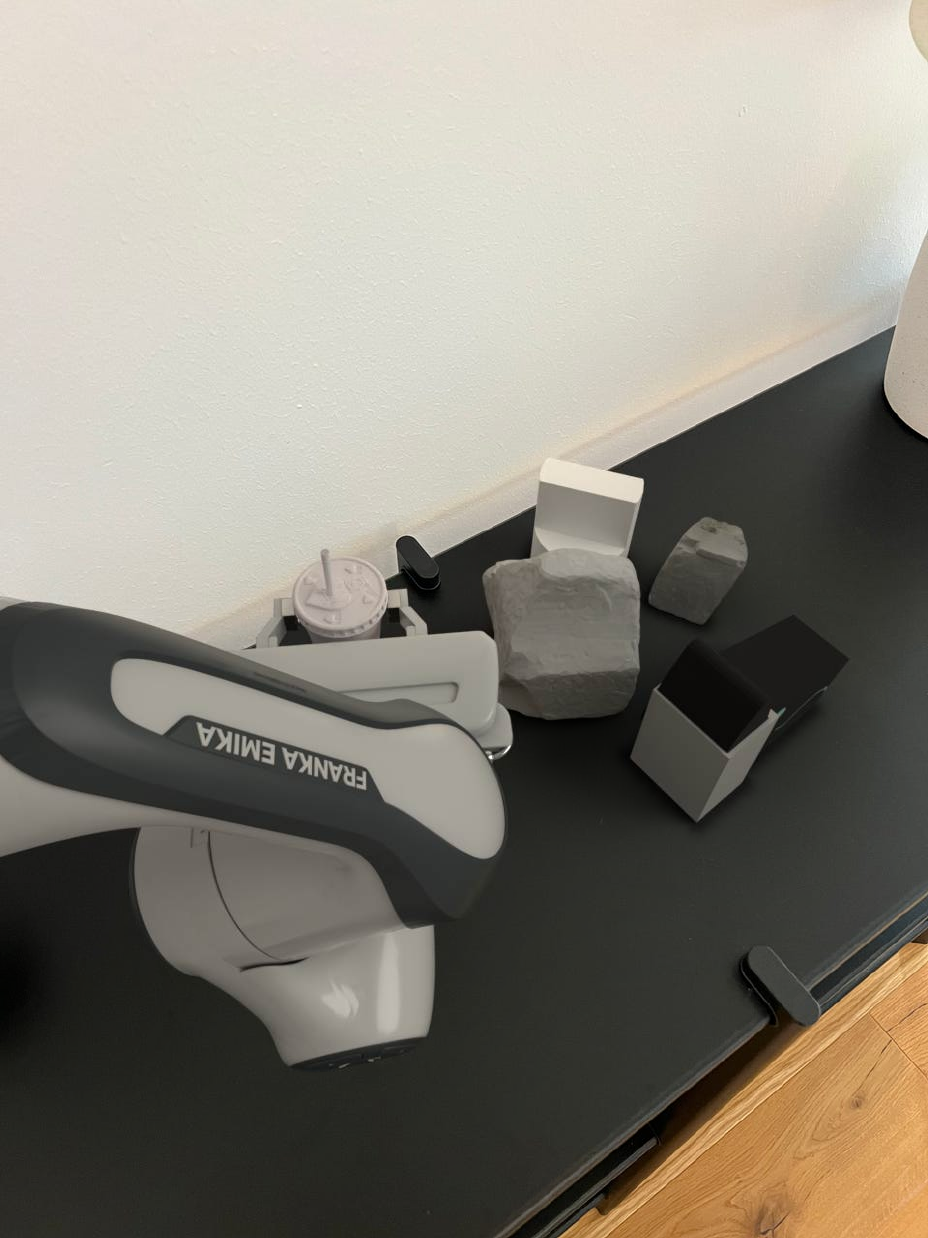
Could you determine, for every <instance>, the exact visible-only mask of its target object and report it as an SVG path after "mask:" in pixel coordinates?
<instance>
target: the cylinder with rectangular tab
mask: <svg viewBox="0 0 928 1238" xmlns="http://www.w3.org/2000/svg"><path fill="white" fill-rule="evenodd" d="M644 484H645V482H644V478H641V477H636V476H631V475H627V474H624V473H619V472H614V471H610V470H605V469H601V468H597V467H593V466H588V465H584V464H579V463H575V462H571V461H566V460H562V459H557V458H553V457H548V458H546V459H545V460H544V462H543V464H542V466H541V468H540V473H539V479H538V489H537V498H536V505H535V513H534V514H535V515H534V521H533V522H534V523H533V533H532V539H531V540H532V541H531V548H530V549H531V550H530V557H529V559H530V558H535V557H537V556H539V555H540V554H543V553H546V552H549V551H552V550H556V549H560V548H578V549H582V550H588V551H593V552H597V553H601V554H603V555H616V556H621V557H624V558H628V556H629V551H630V548H631V544H632V539H633V535H634V531H635V526H636V522H637V520H638V519H637V518H638V514H639V510H640V506H641V502H642V498H643V493H644Z"/></svg>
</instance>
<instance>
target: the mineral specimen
mask: <svg viewBox="0 0 928 1238" xmlns="http://www.w3.org/2000/svg"><path fill="white" fill-rule="evenodd" d="M748 551H749V550H748V546H747V541H746V540H745V535H744V532H743V529H742V528H740V527H739V526H737V525H733V524H729V523H728V522H726V521H718V520H716V519H714V518H712V517H709V516H705V517H703V518H700V520H699V521H697V522H695V523H694V525H692V526H691V527H689V529H688V530H687V531H686V532H685V533H684V534H683V535H682V537H681V538H680V539H679V541H678V542H677V543H676V545H675V546H674V548H673V549H672V551H671V552H670V554H669V555H668V557H667V558H666V560H665V562H664V564H663V565H662V566H661V568H660V570H659V572H658V573H657V575H656V577H655V580H654V582H653V584H652V586H651V588H650V591H649V594H648V604H649V605H650V606H652V607H653V608H656V609H657V610H660V611H662V612H665V613H669V614H672V615H673V616H675V617H679V618H683V619H684V620H686V621H689V622H690V623H694V624H697V625H705V623H706V622H707V621H708V620H709V618H710V616H711V615H712V614H713V613H714V612H715V610H716V609H717V607H718V606H720V604H721V602H722V601H723V600H724V599H725V597H726V595H727V594H728V592H729V591H730V590H731V589H732V587H734V584H735V583H736V581H737V579H738V578H739V576H740V575H741V574H742V573H743V572H744V569H745V567H746V565H747V563H748V562H749V559H748V556H749V555H748V554H749V553H748Z"/></svg>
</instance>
